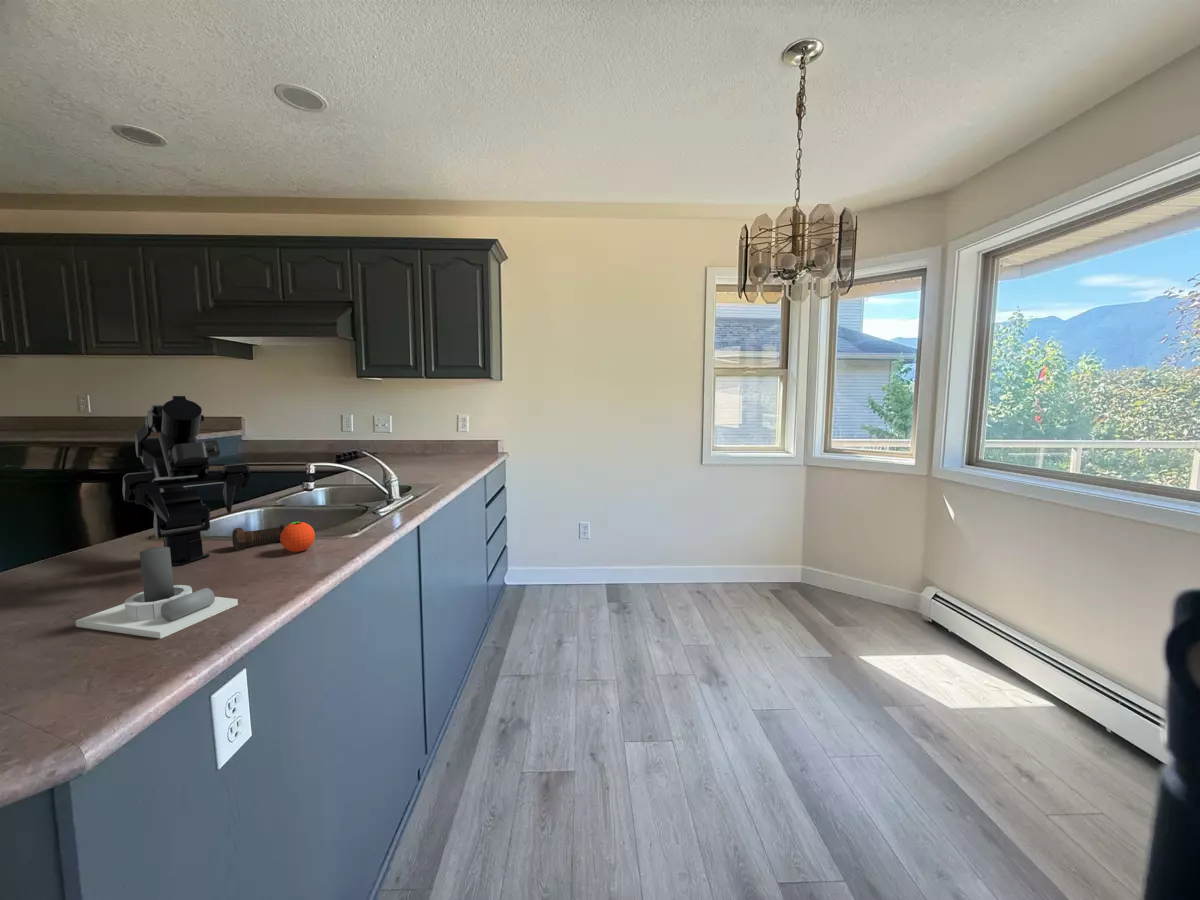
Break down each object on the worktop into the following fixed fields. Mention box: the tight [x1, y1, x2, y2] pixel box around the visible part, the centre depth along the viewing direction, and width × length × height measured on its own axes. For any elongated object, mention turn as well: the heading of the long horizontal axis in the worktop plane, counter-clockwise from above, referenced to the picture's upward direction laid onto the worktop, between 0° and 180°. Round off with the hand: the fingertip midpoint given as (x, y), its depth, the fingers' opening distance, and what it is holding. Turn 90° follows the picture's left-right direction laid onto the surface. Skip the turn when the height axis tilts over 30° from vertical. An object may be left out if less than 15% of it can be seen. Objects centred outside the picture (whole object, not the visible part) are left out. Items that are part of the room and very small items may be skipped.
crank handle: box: [139, 546, 174, 602], centre depth 77 cm, size 4×4×10 cm
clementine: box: [279, 521, 316, 553], centre depth 111 cm, size 8×7×7 cm
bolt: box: [231, 522, 291, 552], centre depth 117 cm, size 6×5×15 cm
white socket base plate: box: [75, 584, 239, 640], centre depth 78 cm, size 17×12×4 cm
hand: (200, 516), depth 90 cm, fingers open, 9 cm apart
